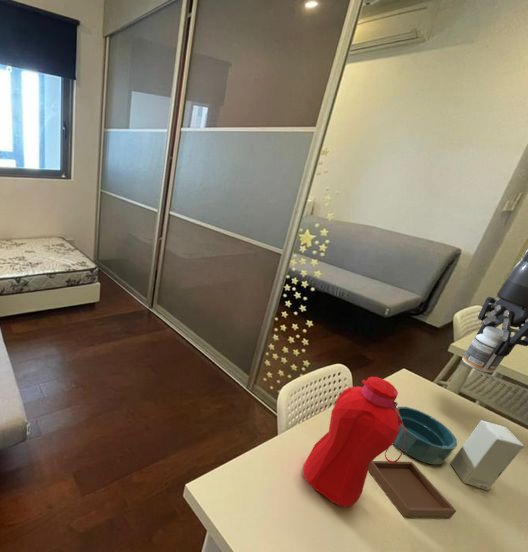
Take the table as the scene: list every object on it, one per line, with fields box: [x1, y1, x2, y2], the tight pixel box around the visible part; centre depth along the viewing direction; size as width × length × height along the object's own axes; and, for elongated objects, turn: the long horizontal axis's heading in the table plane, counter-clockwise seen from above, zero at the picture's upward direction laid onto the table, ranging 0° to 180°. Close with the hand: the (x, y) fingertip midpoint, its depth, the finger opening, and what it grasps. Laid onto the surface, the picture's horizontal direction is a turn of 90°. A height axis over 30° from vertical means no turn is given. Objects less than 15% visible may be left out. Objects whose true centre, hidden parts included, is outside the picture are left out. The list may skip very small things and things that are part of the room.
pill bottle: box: [461, 326, 514, 373], centre depth 76 cm, size 6×6×10 cm
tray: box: [368, 460, 457, 519], centre depth 62 cm, size 10×10×2 cm
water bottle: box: [303, 376, 406, 508], centre depth 57 cm, size 9×11×25 cm
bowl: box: [393, 406, 458, 465], centre depth 73 cm, size 11×11×6 cm
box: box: [450, 419, 525, 491], centre depth 65 cm, size 5×4×13 cm
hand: (489, 347), depth 76 cm, fingers closed on pill bottle, 5 cm apart
